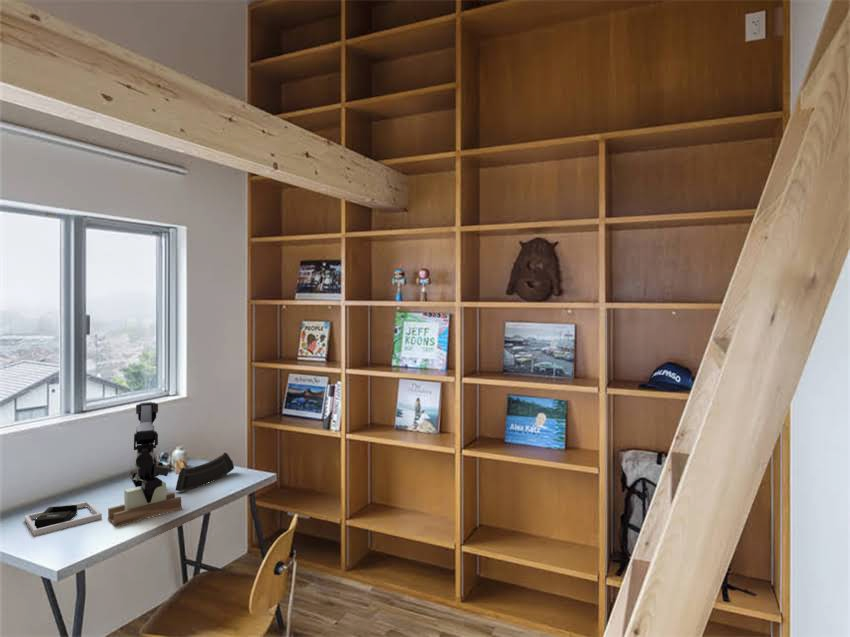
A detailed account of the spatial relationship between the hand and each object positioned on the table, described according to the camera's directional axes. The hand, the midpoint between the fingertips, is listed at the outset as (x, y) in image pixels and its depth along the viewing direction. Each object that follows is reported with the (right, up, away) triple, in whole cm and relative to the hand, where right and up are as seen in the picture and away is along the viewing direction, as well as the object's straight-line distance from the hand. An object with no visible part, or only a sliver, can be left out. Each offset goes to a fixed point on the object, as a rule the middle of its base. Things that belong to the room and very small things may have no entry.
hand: (145, 500), depth 205 cm
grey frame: (-28, -5, -6) cm, 29 cm away
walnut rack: (0, -6, 0) cm, 6 cm away
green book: (0, -5, 0) cm, 4 cm away
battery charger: (-30, -6, -7) cm, 31 cm away
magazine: (+9, -5, +36) cm, 38 cm away
